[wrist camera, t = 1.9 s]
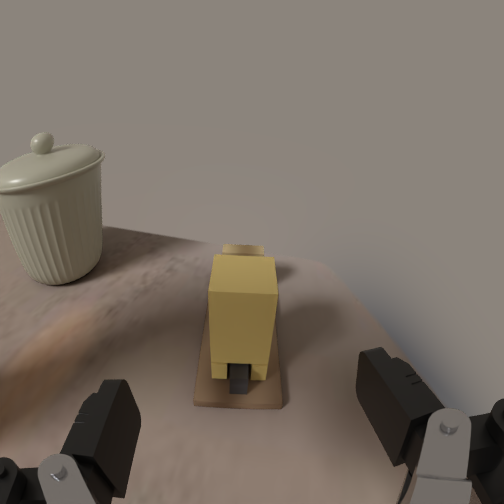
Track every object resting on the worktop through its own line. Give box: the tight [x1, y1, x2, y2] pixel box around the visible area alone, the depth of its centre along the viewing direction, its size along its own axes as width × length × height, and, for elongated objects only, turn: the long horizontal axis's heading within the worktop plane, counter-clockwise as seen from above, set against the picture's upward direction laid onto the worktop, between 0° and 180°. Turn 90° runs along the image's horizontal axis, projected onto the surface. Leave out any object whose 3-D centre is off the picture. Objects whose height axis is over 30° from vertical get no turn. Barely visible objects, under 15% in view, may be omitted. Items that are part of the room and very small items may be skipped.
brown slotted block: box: [193, 244, 283, 409], centre depth 33 cm, size 8×20×6 cm, turn 0°
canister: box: [0, 132, 105, 285], centre depth 38 cm, size 18×18×21 cm
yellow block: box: [208, 254, 278, 380], centre depth 27 cm, size 5×5×10 cm
